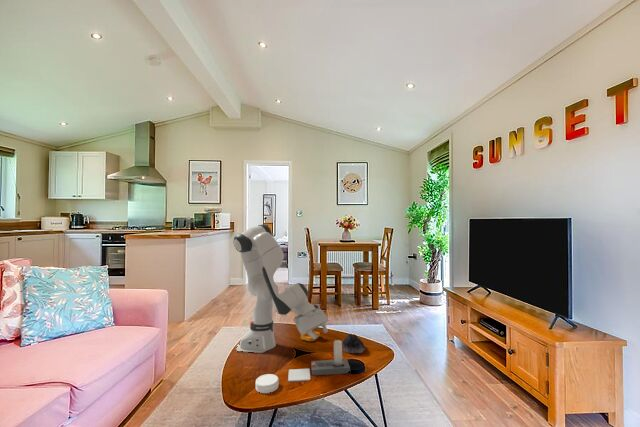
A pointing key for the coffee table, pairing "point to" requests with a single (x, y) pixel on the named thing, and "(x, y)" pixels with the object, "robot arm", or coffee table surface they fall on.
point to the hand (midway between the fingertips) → (321, 335)
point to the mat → (299, 375)
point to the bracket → (308, 337)
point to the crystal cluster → (353, 344)
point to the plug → (338, 354)
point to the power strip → (328, 367)
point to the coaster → (267, 383)
